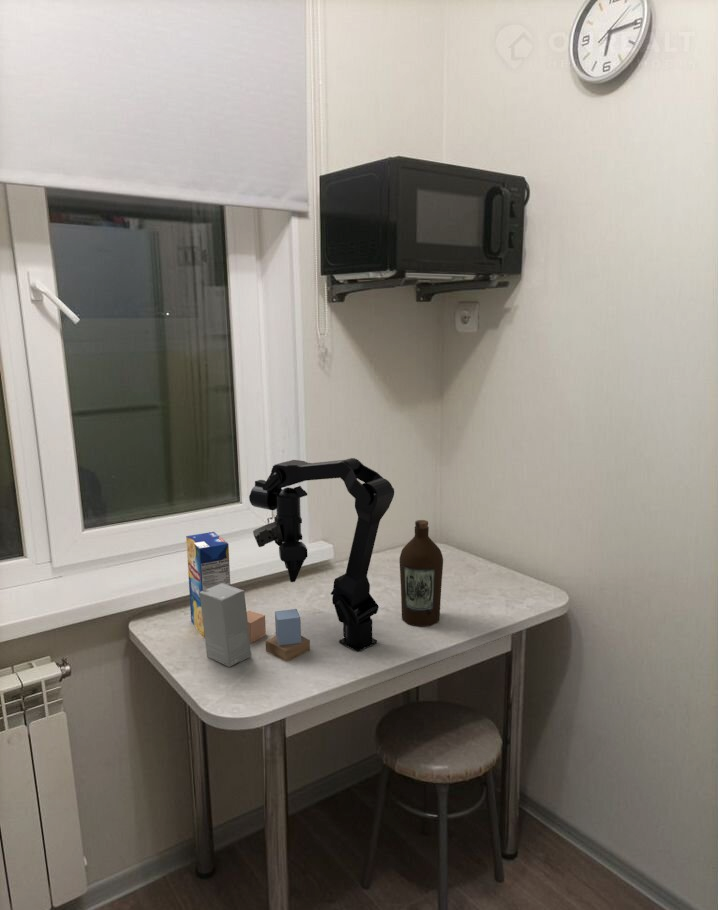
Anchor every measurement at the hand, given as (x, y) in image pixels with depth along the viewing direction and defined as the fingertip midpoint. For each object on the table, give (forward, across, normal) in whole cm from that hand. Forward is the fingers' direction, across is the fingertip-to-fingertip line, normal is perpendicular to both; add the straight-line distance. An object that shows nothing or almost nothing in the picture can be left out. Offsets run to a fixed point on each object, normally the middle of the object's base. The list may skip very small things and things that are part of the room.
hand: (290, 574), depth 166 cm
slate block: (+9, +15, -2) cm, 18 cm away
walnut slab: (+12, +15, -3) cm, 20 cm away
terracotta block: (+12, +6, -10) cm, 17 cm away
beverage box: (+12, -2, -19) cm, 23 cm away
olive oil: (+12, +6, +31) cm, 34 cm away
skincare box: (+12, +15, -16) cm, 25 cm away
